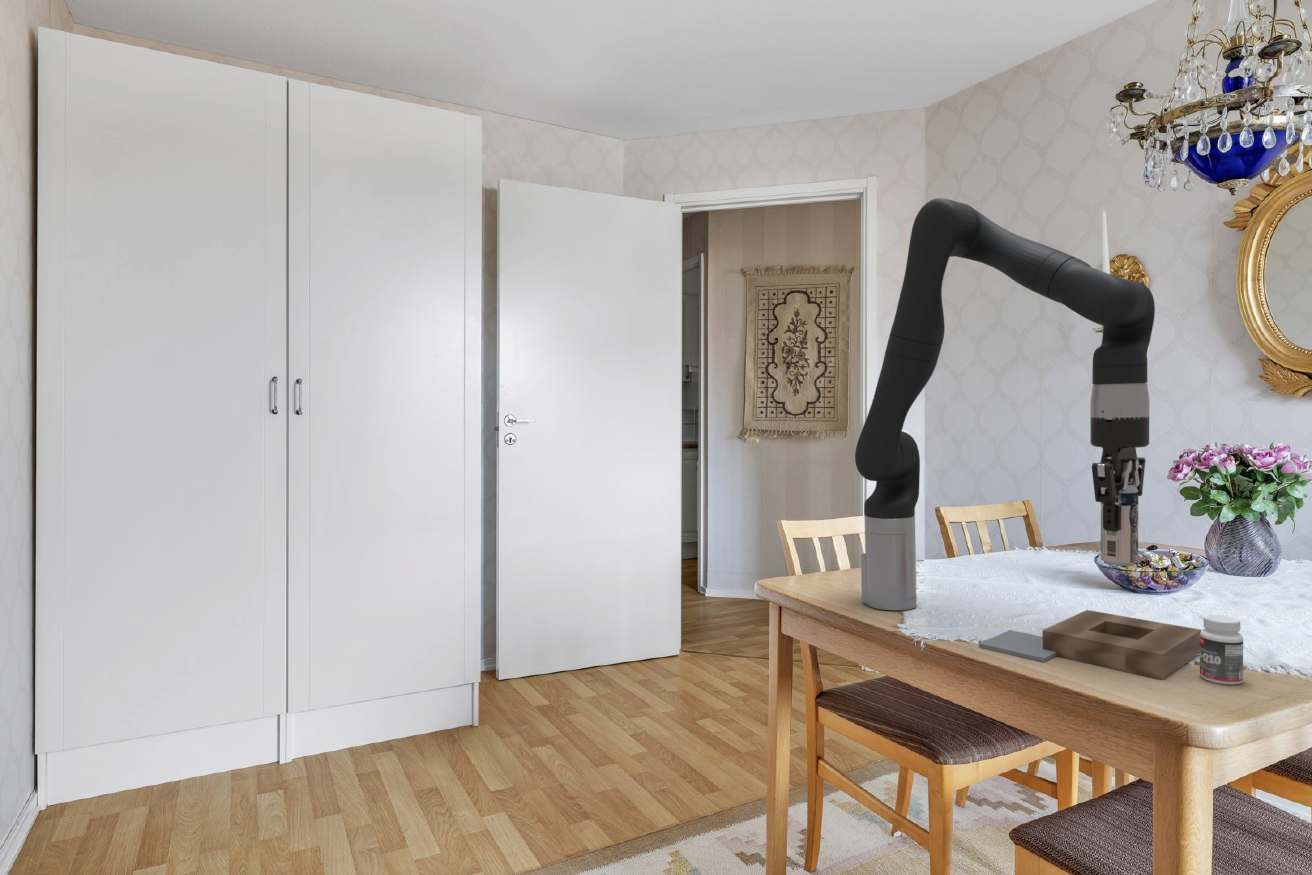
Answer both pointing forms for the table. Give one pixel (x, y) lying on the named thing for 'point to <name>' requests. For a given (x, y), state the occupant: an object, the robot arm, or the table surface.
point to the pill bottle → (1221, 650)
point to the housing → (1123, 643)
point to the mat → (1019, 645)
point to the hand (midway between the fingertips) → (1119, 527)
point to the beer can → (1122, 532)
